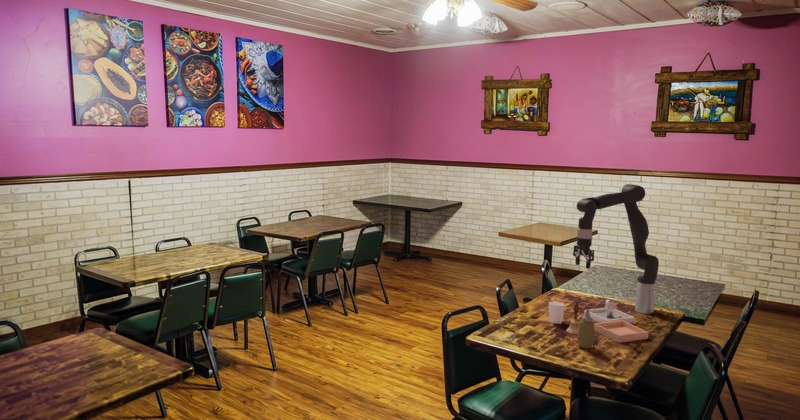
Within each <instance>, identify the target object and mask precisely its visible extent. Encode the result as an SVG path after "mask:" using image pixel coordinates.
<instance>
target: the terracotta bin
mask: <svg viewBox="0 0 800 420" xmlns="http://www.w3.org/2000/svg"><path fill="white" fill-rule="evenodd" d="M594 332H596V333H599V334H601V335H603V336H605V337H606V338H608V339H610V340H613V341H615V342H616V343H620V344H621V343H626V342H633V341H634V342H635V341H641V340H648V339H649V331H647V330H644V329H642V328H640V327H638V326H636V325H634V324H629V323H627V322H625V321H623V320H621V321H612V322H604V323H597V322H595V323H594Z"/></svg>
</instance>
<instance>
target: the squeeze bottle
mask: <svg viewBox="0 0 800 420" xmlns="http://www.w3.org/2000/svg"><path fill="white" fill-rule="evenodd" d="M585 310H586V313H585V316H584V315H581V320H579V328H578V333H577V334H576V340H577V344H578V346H579V348H580V347H581V348H583V349H591V348H592V347H593V345H594V342H595V340H596V339H595V337H596V336H595V331H594V324H595V322H594V321H593V320H592V317H591V316H590V312H589V310H590V309H585Z"/></svg>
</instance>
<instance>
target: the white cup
mask: <svg viewBox="0 0 800 420" xmlns="http://www.w3.org/2000/svg"><path fill="white" fill-rule="evenodd" d="M564 311H565V303H564V302H560V301H555V300H554V301H549V302H548V321H549V322H550V323H552V324H558V325H559V324H562V323H563V317H564Z"/></svg>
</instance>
